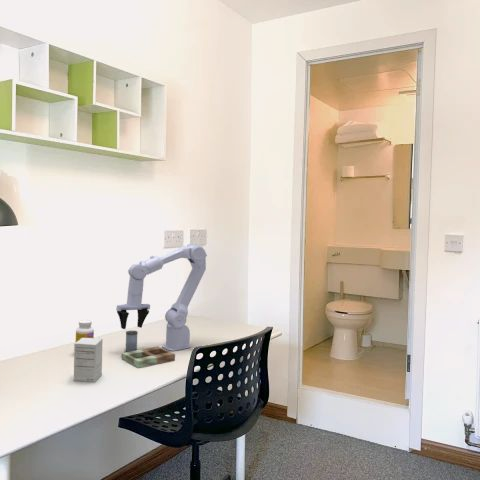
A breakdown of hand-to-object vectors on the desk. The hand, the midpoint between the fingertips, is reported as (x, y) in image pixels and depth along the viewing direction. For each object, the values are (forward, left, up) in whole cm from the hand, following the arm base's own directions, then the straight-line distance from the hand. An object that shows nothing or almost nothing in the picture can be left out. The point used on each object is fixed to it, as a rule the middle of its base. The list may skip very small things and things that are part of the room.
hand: (131, 327), depth 190 cm
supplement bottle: (+16, -7, -10) cm, 20 cm away
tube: (0, 0, -10) cm, 10 cm away
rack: (0, +13, -10) cm, 16 cm away
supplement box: (+26, +18, -10) cm, 33 cm away
